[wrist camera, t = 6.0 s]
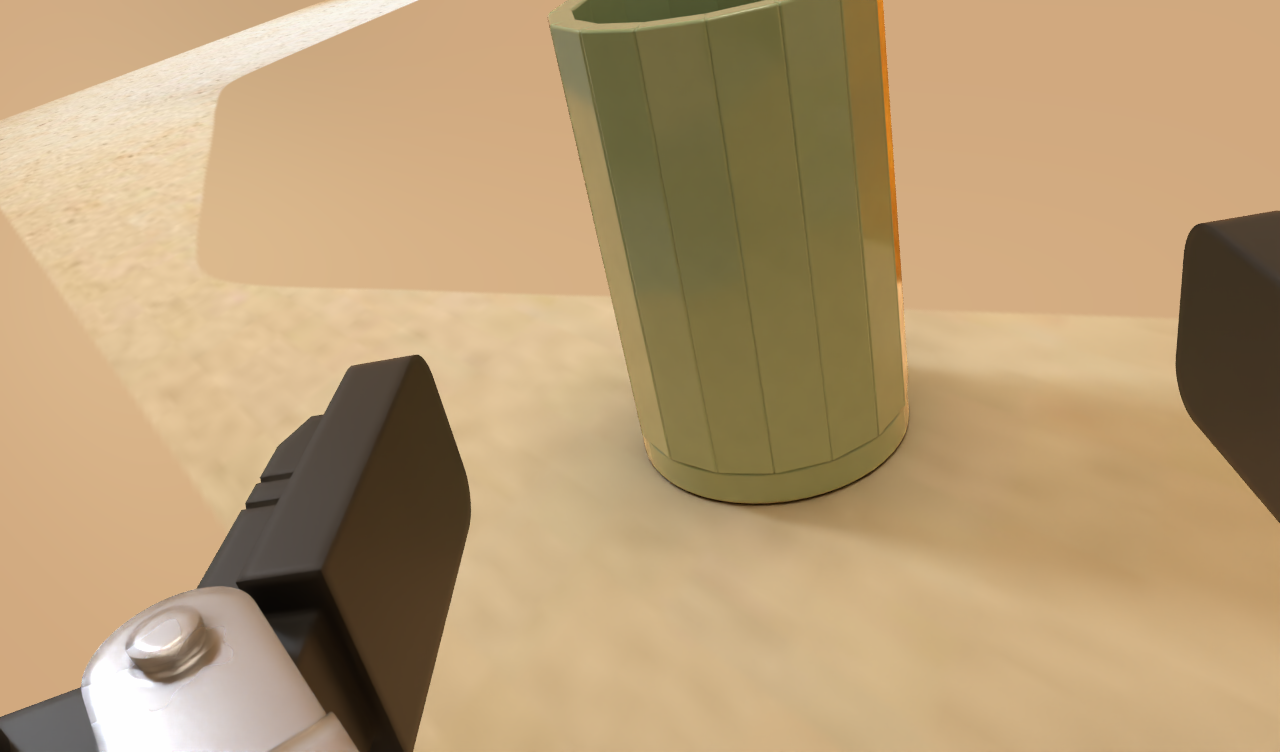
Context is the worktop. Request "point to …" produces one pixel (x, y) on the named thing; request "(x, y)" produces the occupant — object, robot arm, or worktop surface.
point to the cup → (746, 233)
